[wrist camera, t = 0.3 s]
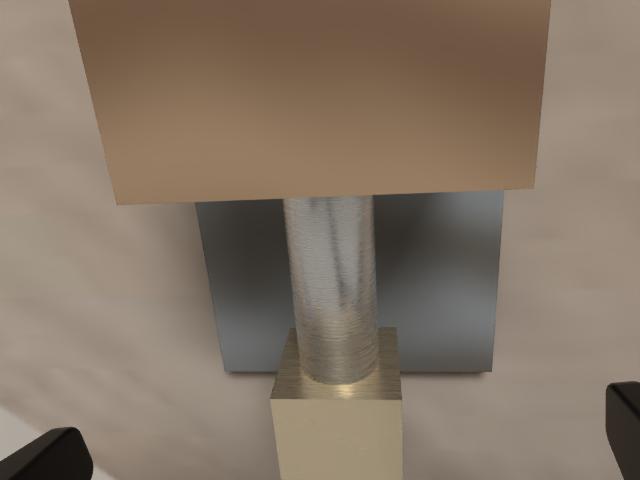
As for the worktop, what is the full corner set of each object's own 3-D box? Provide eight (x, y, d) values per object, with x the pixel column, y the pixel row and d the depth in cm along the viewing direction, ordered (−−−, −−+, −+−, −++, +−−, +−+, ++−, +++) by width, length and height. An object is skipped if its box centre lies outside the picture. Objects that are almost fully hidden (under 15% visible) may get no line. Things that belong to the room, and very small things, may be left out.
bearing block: (487, 358, 23) (555, 559, 14) (230, 358, 25) (150, 541, 16) (536, -423, 14) (825, -1224, 5) (111, -348, 15) (-254, -866, 6)
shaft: (397, 399, 18) (402, 483, 15) (297, 398, 18) (281, 479, 15) (385, -257, 11) (390, -374, 8) (227, -234, 12) (168, -336, 8)
